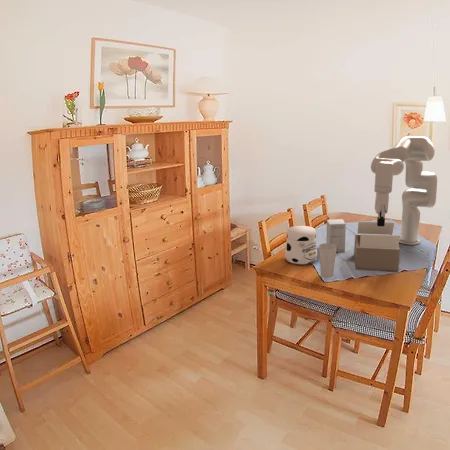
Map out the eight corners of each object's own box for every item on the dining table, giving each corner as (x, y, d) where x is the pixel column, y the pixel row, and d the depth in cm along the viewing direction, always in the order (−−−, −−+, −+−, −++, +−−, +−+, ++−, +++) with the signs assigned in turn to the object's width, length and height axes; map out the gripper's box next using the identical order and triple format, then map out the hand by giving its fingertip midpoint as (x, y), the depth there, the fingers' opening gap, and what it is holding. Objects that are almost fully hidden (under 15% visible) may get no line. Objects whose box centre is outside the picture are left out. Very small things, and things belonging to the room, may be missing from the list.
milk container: (315, 268, 201) (316, 236, 196) (282, 266, 207) (282, 234, 201) (318, 256, 217) (319, 225, 212) (287, 254, 222) (287, 224, 217)
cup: (336, 279, 189) (337, 249, 184) (318, 278, 190) (319, 249, 186) (335, 272, 196) (336, 243, 192) (318, 271, 198) (318, 242, 194)
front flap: (360, 234, 188) (360, 234, 188) (400, 235, 183) (400, 236, 183) (359, 246, 194) (359, 247, 193) (397, 248, 189) (397, 248, 189)
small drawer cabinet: (342, 246, 230) (343, 218, 225) (345, 251, 221) (346, 223, 216) (325, 246, 231) (326, 219, 226) (328, 252, 222) (329, 224, 217)
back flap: (357, 233, 212) (357, 233, 212) (392, 234, 207) (392, 234, 208) (358, 222, 206) (358, 221, 207) (394, 223, 202) (394, 222, 202)
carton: (354, 254, 216) (355, 234, 213) (392, 256, 211) (394, 236, 207) (355, 269, 198) (356, 247, 194) (398, 272, 193) (400, 249, 189)
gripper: (373, 184, 188) (371, 220, 194) (376, 192, 175) (373, 230, 181) (389, 184, 186) (387, 221, 192) (394, 192, 173) (391, 231, 179)
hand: (380, 225), depth 186 cm, fingers closed
